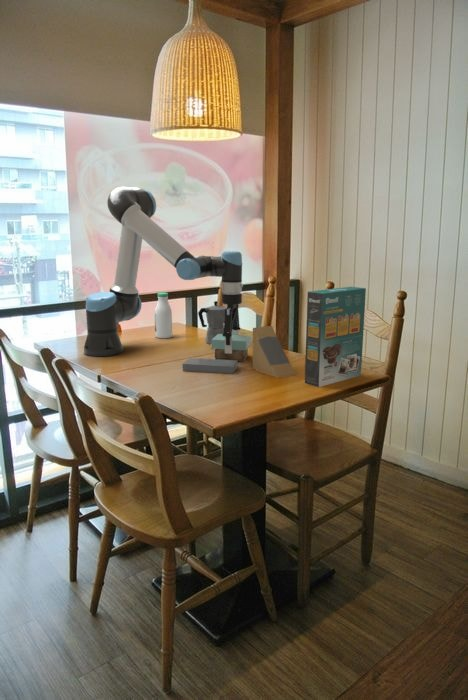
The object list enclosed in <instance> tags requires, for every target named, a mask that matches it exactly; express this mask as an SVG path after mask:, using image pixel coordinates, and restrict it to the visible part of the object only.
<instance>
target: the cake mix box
mask: <svg viewBox="0 0 468 700" xmlns="http://www.w3.org/2000/svg"><path fill="white" fill-rule="evenodd" d="M366 291H367V290H366V287H356V286H347V287H346V286H345V287H336V288H327V289H318V290H310V291H307V299H306V300H307V301H306V302H307V305H306V329H305V330H306V332H305V335H306V336H305V358H304V359H305V360H304V361H305V365H304V384H306V385H309V386H313V387H316V388H321V387H325V386H328V385H331V384H336V383H338V382H343V381H345V380H349V379H352V378H357V377H360V376H362V363H363V347H364V346H363V344H364V328H365V312H366V311H365V309H366V294H367V293H366Z"/></svg>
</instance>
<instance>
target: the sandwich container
mask: <svg viewBox="0 0 468 700" xmlns="http://www.w3.org/2000/svg"><path fill="white" fill-rule="evenodd" d="M252 369H254V370H256V371H258V372H261V373H263V374H266V375H268V376H271V377H273V378H277V379H281V378H287V377H291V376H296V375H297V373H296V371H295V369H294V368H293V366H292V364H291V361H290V360H289V358H288V357H287V355H286V352H285V350H284V348H283V346H282V344H281V342H280V340H279V338H278V336H277V334H276V332H275V330H274V328H273V325H270V326H269V325H268V326H267V325H265V326H257V327H252Z"/></svg>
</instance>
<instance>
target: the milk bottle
mask: <svg viewBox="0 0 468 700" xmlns="http://www.w3.org/2000/svg"><path fill="white" fill-rule="evenodd" d="M157 298H158V299H157V303H156V306H155V308H154V335H155V338H158V339H170V338H173V313H172V311H173V310H172V308H171V305H170V304H169V303H170V302H169V301H168V299H169V293H168V292H158V293H157Z"/></svg>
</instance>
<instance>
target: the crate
mask: <svg viewBox="0 0 468 700" xmlns="http://www.w3.org/2000/svg"><path fill="white" fill-rule="evenodd" d="M214 351H215V352H214V359H220V360H238V362H245V360H246V359H247V358H248V356H249V353H248V351H249V348H248V349H247V350H232V354H229V353H225V349H214Z"/></svg>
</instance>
